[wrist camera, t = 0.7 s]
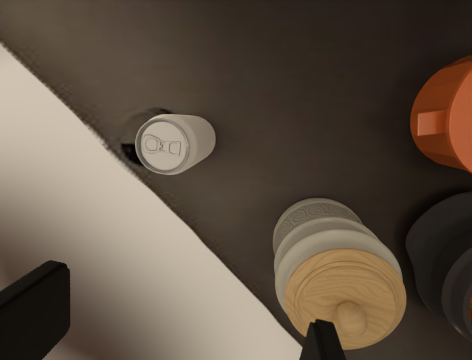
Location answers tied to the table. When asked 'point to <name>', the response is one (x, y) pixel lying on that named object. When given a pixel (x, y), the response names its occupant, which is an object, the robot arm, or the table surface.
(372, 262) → the jar
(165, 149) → the can
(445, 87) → the pot
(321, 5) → the table surface
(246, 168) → the table surface
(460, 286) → the casserole
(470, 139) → the pot lid
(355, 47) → the table surface
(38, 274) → the robot arm
